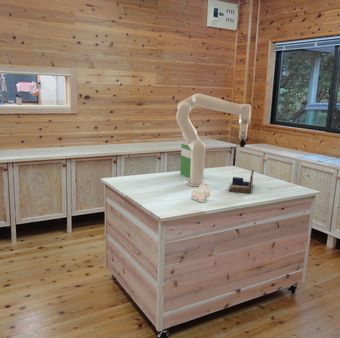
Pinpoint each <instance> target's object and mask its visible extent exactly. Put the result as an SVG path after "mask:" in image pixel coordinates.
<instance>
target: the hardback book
mask: <svg viewBox="0 0 340 338" xmlns="http://www.w3.org/2000/svg"><path fill="white" fill-rule="evenodd" d="M180 146H181V147H180V171H179V173H180V175H182V176H185V177H186V178H190V169H191V153H192V150H191V149H190V148H189V146H188V144H184V143H181V145H180Z"/></svg>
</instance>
